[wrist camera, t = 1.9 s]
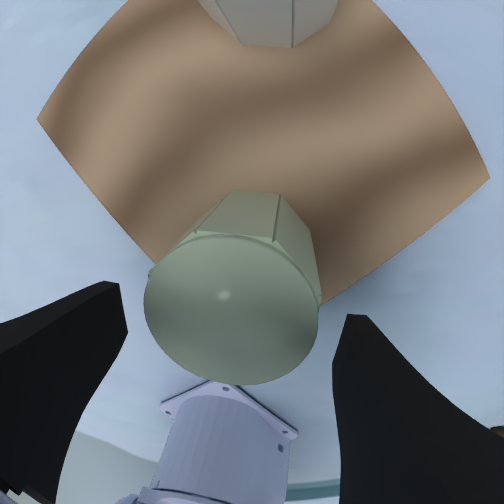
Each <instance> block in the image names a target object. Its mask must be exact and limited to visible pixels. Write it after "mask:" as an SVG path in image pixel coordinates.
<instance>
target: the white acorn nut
mask: <svg viewBox="0 0 504 504" xmlns="http://www.w3.org/2000/svg"><path fill="white" fill-rule="evenodd" d="M198 1H199V3H200V4H201V5H202V6H203V8H204V9H205V10H206V12H207V13H208V14H209V15H210V17H211V18H212V19H213V20H214V21H216V22H217V23H218V24H219V25H220V26H221V27H222V28H224V29H225V30H226V31H227V32H228V33H229V34H230V35H231V36H233V37H234V38H235V39H236V40H237V41H238V42H239V43H240V44H243V45H249V46H272V47H286V48H291V46H293V47H295V46H296V45H298V44H299V43H301V42H302V41H304V40H305V39H306V38H308V37H309V36H311V35H312V34H314V33H315V32H317V31H318V30H320V29H321V28H323V27H325V26H326V25H328V24H329V22H330V20H331V18H332V15H333V12H334V10H335V7H336V5H337V2H338V0H198Z"/></svg>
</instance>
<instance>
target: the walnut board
mask: <svg viewBox="0 0 504 504" xmlns="http://www.w3.org/2000/svg"><path fill="white" fill-rule="evenodd" d="M37 121H38V122H39V123H40V125H41V126H42V128H43V129H44V130H45V132H46V133H47V135H48V136H49V137H50V139H51V140H52V141H53V143H54V144H55V146H56V147H57V148H58V150H59V151H60V152H61V154H62V155H63V156H64V157H65V159H66V160H67V161H68V163H69V164H70V165H71V167H72V168H73V169H74V170H75V172H76V173H77V174H78V175H79V177H80V178H81V179H82V180H83V182H84V183H85V184H86V185H87V187H88V188H89V189H90V190H91V192H92V193H93V194H94V195H95V196H96V198H97V199H98V200H99V201H100V202H101V204H102V205H103V206H104V207H105V208H106V210H107V211H108V212H109V213H110V214H111V215H112V217H113V218H114V219H115V220H116V221H117V222H118V224H119V225H120V226H121V227H122V228H123V229H124V230H125V231H126V233H127V234H128V235H129V236H130V237H131V238H132V239H133V240H134V242H135V243H136V244H137V245H138V246H139V247H140V248H141V249H142V250H143V251H144V253H145V254H146V255H147V256H148V257H149V258H150V259H151V260H152V261H153V262H154V263H155V264H156V263H157V262H158V261H159V260H160V259H161V258H162V257H163V256H164V255H165V254H166V253H167V252H168V250H169V249H170V248H171V247H172V246H173V245H174V244H175V243H176V242H177V241H178V240H179V239H180V238H181V237H182V236H183V235H184V233H185V232H186V231H187V230H188V229H189V228H190V227H191V226H192V225H193V224H194V223H195V222H196V221H197V220H198V219H199V218H200V217H201V216H202V215H203V214H204V213H206V212H207V211H208V210H209V209H210V208H211V207H212V206H214V205H215V204H216V203H217V202H218V201H219V200H220V199H222V198H223V197H224V196H225V195H226V194H227V193H229V192H230V191H232V190H243V191H254V192H264V193H274V194H279V197H280V196H281V195H282V197H283V198H284V199H285V200H286V201H287V203H288V204H289V205H290V206H291V207H292V209H293V210H294V211H295V212H296V213H297V215H298V216H299V217H300V218H301V220H302V221H303V222H304V223H305V224H306V226H307V227H308V228H309V229H310V233H311V238H312V243H313V248H314V254H315V259H316V265H317V271H318V277H319V282H320V288H321V295H322V297H321V302H320V306H321V305H322V304H324V303H326V302H327V301H329V300H330V299H332V298H333V297H335V296H336V295H338V294H339V293H341V292H342V291H344V290H345V289H347V288H348V287H350V286H351V285H353V284H354V283H356V282H357V281H359V280H360V279H362V278H363V277H365V276H366V275H368V274H369V273H370V272H372V271H373V270H375V269H376V268H378V267H379V266H380V265H382V264H383V263H385V262H386V261H387V260H389V259H390V258H392V257H393V256H394V255H396V254H397V253H398V252H400V251H401V250H402V249H404V248H405V247H406V246H408V245H409V244H410V243H412V242H413V241H414V240H416V239H417V238H418V237H420V236H421V235H422V234H424V233H425V232H426V231H427V230H429V229H430V228H431V227H433V226H434V225H435V224H436V223H438V222H439V221H440V220H441V219H443V218H444V217H445V216H446V215H448V214H449V213H450V212H451V211H452V210H454V209H455V208H456V207H457V206H459V205H460V204H461V203H462V202H463V201H464V200H466V199H467V198H468V197H469V196H470V195H472V194H473V193H474V192H475V191H476V190H477V189H478V188H480V187H481V186H482V185H483V184H484V183H485V182H486V181H487V180H489V179H490V176H489V173H488V171H487V169H486V167H485V164H484V162H483V160H482V158H481V155H480V153H479V151H478V149H477V147H476V145H475V143H474V141H473V139H472V137H471V135H470V133H469V131H468V129H467V127H466V126H465V124H464V122H463V120H462V118H461V117H460V115H459V113H458V111H457V110H456V108H455V106H454V105H453V103H452V101H451V100H450V98H449V96H448V95H447V93H446V92H445V90H444V89H443V87H442V86H441V84H440V83H439V81H438V80H437V78H436V77H435V75H434V74H433V72H432V71H431V69H430V68H429V67H428V65H427V64H426V63H425V61H424V60H423V59H422V57H421V56H420V55H419V53H418V52H417V51H416V49H415V48H414V47H413V46H412V44H411V43H410V42H409V41H408V39H407V38H406V37H405V36H404V35H403V33H402V32H401V31H400V30H399V29H398V28H397V27H396V25H395V24H394V23H393V22H392V21H391V20H390V19H389V18H388V17H387V15H386V14H385V13H384V12H383V11H382V10H381V9H380V8H379V7H378V6H377V5H376V4H375V3H374V2H373V1H372V0H338V2H337V5H336V7H335V10H334V12H333V15H332V18H331V20H330V22H329V24H328V25H326V26H325V27H323V28H321V29H320V30H318V31H317V32H315V33H314V34H312V35H311V36H309V37H308V38H306V39H305V40H304V41H302V42H301V43H299V44H298V45H296V46H295V47H293V46H291V48H286V47H272V46H249V45H243V44H240V43H239V42H238V41H237V40H236V39H235V38H234V37H233V36H231V35H230V34H229V33H228V32H227V31H226V30H225V29H224V28H222V27H221V26H220V25H219V24H218V23H217V22H216V21H214V20H213V19H212V18H211V17H210V15H209V14H208V13H207V12H206V10H205V9H204V8H203V6H202V5H201V4H200V3H199V1H198V0H128V1H127V2H126V3H125V4H124V5H123V6H122V7H121V8H120V9H119V10H118V11H117V12H116V13H115V14H114V15H113V16H112V17H111V18H110V19H109V20H108V22H107V23H106V24H105V25H104V26H103V27H102V28H101V29H100V30H99V32H98V33H97V34H96V35H95V36H94V37H93V39H92V40H91V41H90V42H89V43H88V45H87V46H86V47H85V48H84V50H83V51H82V52H81V53H80V55H79V56H78V57H77V59H76V60H75V61H74V63H73V64H72V65H71V67H70V68H69V69H68V71H67V72H66V74H65V75H64V76H63V78H62V79H61V81H60V82H59V84H58V85H57V87H56V88H55V90H54V91H53V93H52V94H51V96H50V97H49V99H48V101H47V102H46V104H45V106H44V107H43V109H42V111H41V112H40V114H39V116H38V117H37Z"/></svg>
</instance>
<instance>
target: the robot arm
mask: <svg viewBox="0 0 504 504" xmlns="http://www.w3.org/2000/svg"><path fill="white" fill-rule="evenodd" d="M127 334H128V330H127V325H126V320H125V315H124V309H123V304H122V298H121V292H120V286H119V283H113V282H108V281H102V282H99V283H96V284H93V285H91V286H88V287H86V288H84V289H81V290H79V291H77V292H75V293H72V294H70V295H68V296H66V297H64V298H62V299H59V300H57V301H55V302H53V303H51V304H49V305H46V306H44V307H41V308H39V309H37V310H34V311H32V312H30V313H28V314H25V315H23V316H20V317H18V318H15V319H12V320H9V321H6V322H3V323H0V504H17V503H16V502H15V501H14V500H12V499H11V498H10V497H8V496H7V495H6V494H7V492H8V490H9V489H10V490H11V491H13V492H14V493H15V494H17V495H20V494H21V492H22V491H23V492H25V493H26V494H27V495H29V496H30V497H32V498H33V499H35V500H36V501H38V502H39V503H41V504H55V502H56V495H57V489H58V484H59V479H60V474H61V471H62V467H63V464H64V460H65V457H66V453H67V451H68V448H69V445H70V442H71V439H72V437H73V434H74V432H75V429H76V427H77V424H78V422H79V420H80V418H81V415H82V413H83V411H84V409H85V408H86V406H87V404H88V402H89V401H90V399H91V397H92V396H93V394H94V392H95V391H96V389H97V388H98V386H99V385H100V383H101V381H102V380H103V378H104V377H105V375H106V374H107V372H108V370H109V369H110V367H111V366H112V364H113V362H114V361H115V359H116V358H117V356H118V354H119V352H120V350H121V348H122V345H123V343H124V341H125V339H126V336H127ZM332 386H333V398H334V405H335V413H336V421H337V428H338V436H339V445H340V456H341V479H340V498H339V504H504V437H502V436H500V435H498V434H496V433H495V432H493V431H491V430H490V429H488V428H486V427H485V426H483V425H482V424H480V423H479V422H477V421H476V420H474V419H473V418H472V417H470V416H469V415H467V414H466V413H464V412H463V411H462V410H461V409H459V408H458V407H457V406H455V405H454V404H453V403H452V402H451V401H449V400H448V399H447V398H446V397H445V396H443V395H442V394H441V393H440V392H439V391H438V390H437V389H435V388H434V387H433V386H432V385H431V384H430V383H429V382H428V381H427V380H426V379H425V378H424V377H423V376H422V375H421V374H420V373H419V372H418V371H417V370H416V369H415V368H414V367H413V366H412V365H411V364H410V363H409V362H408V361H407V360H406V359H405V358H404V356H403V355H402V354H401V353H400V352H399V351H398V350H397V349H396V348H395V346H394V345H393V344H392V343H391V342H390V341H389V340H388V339H387V337H386V336H385V335H384V334H383V333H382V332H381V331H380V329H379V328H378V327H377V326H376V325H375V324H374V323H373V322H372V321H371V319H370V318H369V317H368V316H367V315H355V314H347V317H346V320H345V324H344V327H343V331H342V334H341V337H340V340H339V344H338V347H337V350H336V353H335V356H334V359H333V362H332ZM159 410H160V411H162V412H163V413H164V414H166V415H167V416H169V417H170V418H171V419H173V420H174V423H173V426H172V428H171V431H170V434H169V436H168V439H167V442H166V444H165V447H164V450H163V452H162V455H161V458H160V460H159V463H158V466H157V469H156V471H155V474H154V477H153V479H152V482H151V485H150V488H146V487H142V489H141V492H140V495H136V494H130V495H128V496H127V497H124V498H122V499H120V500H119V501H118V502H117V503H116V504H283V503H284V501H285V497H286V491H287V478H288V462H289V445H290V440H293V439H296V438H297V437H298V432H297V431H295V430H294V429H292V428H291V427H290V426H288V425H287V424H285V423H284V422H282V421H281V420H280V419H278V418H277V417H275V416H274V415H273V414H271V413H270V412H269V411H267V410H266V409H265V408H263V407H262V406H261V405H259V404H258V403H257V402H255V401H254V400H253V399H251V398H250V397H249V396H247V395H246V394H245V393H244V392H242V391H241V390H240V389H239V388H237V387H236V386H235V385H229V384H223V383H218V382H214V381H209V382H207V383H205V384H203V385H201V386H198V387H196V388H194V389H192V390H190V391H188V392H185V393H183V394H181V395H179V396H177V397H174V398H172V399H170V400H168V401H165V402H163V403H161V404H160V405H159Z"/></svg>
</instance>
